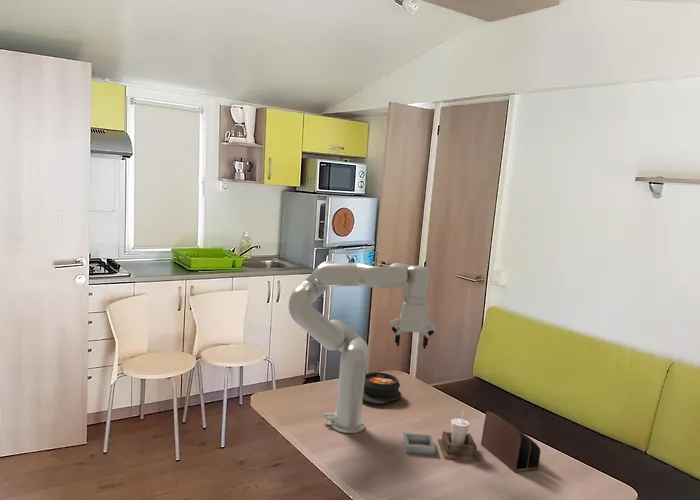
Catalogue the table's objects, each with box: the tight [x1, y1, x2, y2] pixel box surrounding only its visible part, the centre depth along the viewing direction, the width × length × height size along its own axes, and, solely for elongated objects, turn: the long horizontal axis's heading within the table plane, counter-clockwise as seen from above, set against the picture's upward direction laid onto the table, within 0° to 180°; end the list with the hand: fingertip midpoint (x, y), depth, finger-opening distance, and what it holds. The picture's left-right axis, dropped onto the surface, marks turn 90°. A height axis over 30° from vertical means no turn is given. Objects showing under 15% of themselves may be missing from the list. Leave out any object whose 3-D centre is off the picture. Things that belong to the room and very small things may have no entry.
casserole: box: [363, 371, 402, 405], centre depth 233 cm, size 25×19×8 cm
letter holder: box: [480, 411, 542, 473], centre depth 189 cm, size 10×20×14 cm, turn 21°
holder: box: [402, 432, 436, 456], centre depth 190 cm, size 10×10×2 cm
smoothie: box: [450, 409, 470, 444], centre depth 189 cm, size 6×6×14 cm
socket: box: [437, 431, 480, 462], centre depth 190 cm, size 12×12×4 cm
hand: (410, 346), depth 196 cm, fingers open, 9 cm apart
